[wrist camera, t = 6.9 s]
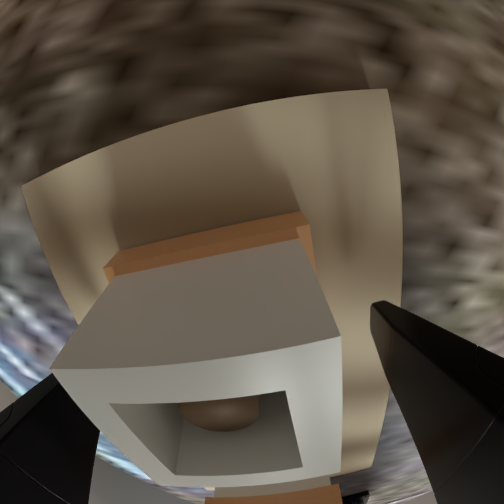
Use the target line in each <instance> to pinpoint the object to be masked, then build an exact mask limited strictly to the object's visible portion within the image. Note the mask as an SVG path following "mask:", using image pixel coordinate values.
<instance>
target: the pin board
mask: <svg viewBox="0 0 504 504" xmlns="http://www.w3.org/2000/svg"><path fill="white" fill-rule="evenodd" d="M21 188H22V192H23V195H24V198H25V202H26V205H27V208H28V211H29V214H30V217H31V220H32V223H33V226H34V229H35V231H36V234H37V237H38V239H39V242H40V245H41V247H42V250H43V252H44V255H45V257H46V259H47V262H48V264H49V266H50V269H51V271H52V273H53V275H54V278H55V280H56V282H57V284H58V286H59V288H60V291H61V293H62V295H63V297H64V299H65V301H66V303H67V305H68V307H69V309H70V311H71V312H72V314H73V316H74V318H75V320H76V322H77V324H78V325H79V324H80V323H81V321H82V320H83V318H84V317H85V316H86V314H87V313H88V311H89V310H90V309H91V307H92V306H93V305H94V303H95V302H96V301H97V299H98V298H99V297H100V295H101V294H102V293H103V291H104V290H105V289H106V287H107V286H108V285H109V282H108V280H107V278H106V275H105V273H104V271H103V267H104V266H105V265H106V264H107V263H108V262H109V261H110V260H111V259H112V258H113V256H114V255H115V254H116V253H117V252H118V251H121V250H125V249H129V248H133V247H138V246H142V245H146V244H150V243H154V242H159V241H163V240H167V239H171V238H176V237H180V236H184V235H189V234H193V233H198V232H202V231H207V230H211V229H216V228H220V227H225V226H230V225H234V224H239V223H244V222H248V221H253V220H258V219H263V218H268V217H272V216H277V215H282V214H287V213H292V212H297V211H302V213H303V214H304V216H305V218H306V219H307V221H308V222H309V224H310V230H311V237H312V244H313V251H314V258H315V265H316V273H317V279H318V282H319V284H320V286H321V289H322V291H323V293H324V296H325V298H326V301H327V303H328V305H329V308H330V310H331V313H332V315H333V317H334V320H335V322H336V325H337V327H338V330H339V332H340V335H341V347H342V390H343V407H342V448H341V468H340V472H338V473H334V474H329V476H330V477H334V476H339V475H343V474H347V473H351V472H355V471H358V470H362V469H366V468H369V467H371V466H372V463H373V460H374V456H375V453H376V449H377V445H378V441H379V437H380V433H381V429H382V425H383V421H384V416H385V412H386V407H387V402H388V397H389V391H390V385H389V383H388V381H387V378H386V376H385V373H384V370H383V367H382V364H381V361H380V358H379V355H378V352H377V349H376V346H375V343H374V340H373V337H372V335H371V331H370V306H371V304H372V303H373V302H377V301H381V300H386V301H388V302H390V303H392V304H394V305H396V306H398V307H400V305H401V289H402V261H403V229H402V201H401V186H400V173H399V163H398V153H397V145H396V137H395V130H394V123H393V117H392V111H391V105H390V100H389V94H388V89H367V90H352V91H339V92H329V93H320V94H311V95H304V96H296V97H290V98H283V99H277V100H271V101H266V102H260V103H255V104H250V105H245V106H240V107H236V108H231V109H227V110H222V111H218V112H214V113H210V114H206V115H202V116H198V117H195V118H191V119H187V120H184V121H180V122H177V123H173V124H170V125H167V126H164V127H160V128H157V129H154V130H151V131H148V132H145V133H142V134H139V135H136V136H133V137H131V138H128V139H125V140H122V141H120V142H117V143H114V144H112V145H109V146H107V147H104V148H102V149H99V150H97V151H94V152H92V153H89V154H87V155H85V156H82V157H80V158H78V159H75V160H73V161H71V162H69V163H67V164H64V165H62V166H60V167H58V168H56V169H54V170H52V171H50V172H48V173H46V174H44V175H42V176H40V177H38V178H36V179H34V180H32V181H30V182H28V183H26V184H24V185H23V186H21ZM179 410H180V413H181V414H182V416H183V417H184V418H185V419H186V420H187V421H189V422H190V423H192V424H194V425H196V426H198V427H200V428H203V429H206V430H211V431H219V432H229V431H236V430H240V429H243V428H246V427H248V426H250V425H251V424H253V423H254V422H255V421H256V420H257V418H258V416H259V395H252V396H245V397H237V398H228V399H219V400H208V401H196V402H180V403H179ZM204 488H205V489H206V490H215V487H204Z"/></svg>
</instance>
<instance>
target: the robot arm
mask: <svg viewBox="0 0 504 504" xmlns="http://www.w3.org/2000/svg"><path fill="white" fill-rule="evenodd" d="M370 331H371V335H372V337H373V340H374V343H375V346H376V349H377V352H378V355H379V358H380V361H381V364H382V367H383V370H384V373H385V376H386V378H387V381H388V383H389V385H390V387H391V389H392V392H393V394H394V396H395V398H396V400H397V403H398V405H399V407H400V409H401V412H402V414H403V416H404V419H405V421H406V423H407V426H408V428H409V430H410V433H411V435H412V437H413V440H414V442H415V445H416V447H417V450H418V452H419V455H420V457H421V460H422V462H423V465H424V467H425V470H426V473H427V475H428V478H429V481H430V483H431V486H432V489H433V491H434V493H435V498H436V501H437V503H438V504H504V358H503V357H501V356H499V355H496V354H494V353H492V352H490V351H488V350H486V349H484V348H482V347H480V346H478V347H477V345H476V344H474V343H472V342H470V341H468V340H466V339H464V338H462V337H460V336H458V335H456V334H454V333H452V332H450V331H448V330H445V329H443V328H441V327H439V326H437V325H435V324H433V323H431V322H429V321H427V320H425V319H423V318H421V317H419V316H417V315H415V314H413V313H411V312H409V311H407V310H404V309H402V308H400V307H398V306H396V305H394V304H392V303H390V302H388V301H386V300H381V301H377V302H373V303H372V304H371V306H370ZM99 434H100V430H99V429H98V428H97V427H96V426H95V425H94V424H93V422H92V421H91V420H90V419H89V418H88V417H87V416H86V415H85V413H84V412H83V411H82V410H81V409H80V408H79V406H78V405H77V404H76V403H75V402H74V400H73V399H72V398H71V397H70V395H69V394H68V393H67V392H66V390H65V389H64V388H63V386H62V385H61V384H60V382H59V381H58V380H57V378H56V377H55V376H54V374H53V373H52V374H50V375H49V376H48V377H46V378H45V379H44V380H42V381H41V382H40V383H38V384H37V385H36V386H34V387H33V388H32V389H30V390H29V391H28V392H26V393H25V394H24V395H22V396H21V397H20V398H19V399H17V400H16V401H15V403H14V402H13V403H12V404H11V405H9V406H8V407H7V408H6V409H4V410H3V411H2V412H0V504H88V501H89V493H90V485H91V478H92V473H93V466H94V460H95V455H96V449H97V444H98V439H99ZM369 496H370V494H369V492H366V493H362V494H359V495H355V496H351V497H347V498H343V499H342V503H343V504H366V503H367V501H368V499H369Z"/></svg>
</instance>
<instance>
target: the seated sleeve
mask: <svg viewBox="0 0 504 504" xmlns="http://www.w3.org/2000/svg"><path fill="white" fill-rule="evenodd" d="M205 504H343V503H342V497H341V492H340V487H339V483H338V484H334V485H331V482H330V476H329V475H324V476H319V477H314V478H309V479H303V480H297V481H290V482H283V483H275V484H266V485H255V486H240V487H215V494H214V497H205Z"/></svg>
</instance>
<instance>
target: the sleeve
mask: <svg viewBox="0 0 504 504" xmlns="http://www.w3.org/2000/svg"><path fill="white" fill-rule="evenodd" d="M103 271H104V273H105V275H106V278H107V280H108V282H109V285H108V286H107V287H106V289H105V290H104V291H103V293H102V294H101V295H100V297H99V298H98V299H97V301H96V302H95V303H94V305H93V306H92V307H91V309H90V310H89V311H88V313H87V314H86V316H85V317H84V318H83V320H82V321H81V323H80V324H79V325H78V327H77V328H76V330H75V331H74V333H73V334H72V336H71V337H70V338H69V340H68V341H67V343H66V344H65V346H64V347H63V349H62V350H61V352H60V353H59V355H58V356H57V358H56V359H55V361H54V363H53V364H52V366H51V367H50V370H51V372H52V373H53V374H54V376H55V377H56V378H57V380H58V381H59V382H60V384H61V385H62V386H63V388H64V389H65V390H66V392H67V393H68V394H69V395H70V397H71V398H72V399H73V400H74V402H75V403H76V404H77V405H78V406H79V408H80V409H81V410H82V411H83V412H84V413H85V415H86V416H87V417H88V418H89V419H90V420H91V421H92V422H93V424H94V425H95V426H96V427H97V428H98V429H99V430H100V431H101V432H102V433H103V434H104V435H105V436H106V437H107V438H108V439H109V441H110V442H111V443H112V444H113V445H114V446H115V447H117V448H118V449H119V450H120V451H121V452H122V453H123V454H124V455H125V456H126V457H127V458H128V459H129V460H130V461H131V462H132V463H134V464H135V465H136V466H137V467H138V468H139V469H140V470H141V471H143V472H144V473H145V474H146V475H147V476H148V477H150V478H151V479H152V480H153V481H154V482H156V483H157V484H158V485H163V486H177V487H240V486H255V485H266V484H275V483H283V482H290V481H297V480H303V479H309V478H314V477H319V476H324V475H329V474H334V473H338V472H340V468H341V448H342V407H343V390H342V347H341V335H340V332H339V330H338V327H337V325H336V322H335V320H334V317H333V315H332V313H331V310H330V308H329V305H328V303H327V301H326V298H325V296H324V293H323V291H322V289H321V286H320V284H319V282H318V279H317V273H316V265H315V258H314V251H313V244H312V237H311V230H310V224H309V222H308V221H307V219H306V218H305V216H304V214H303V213H302V211H297V212H292V213H287V214H282V215H277V216H272V217H268V218H263V219H258V220H253V221H248V222H244V223H239V224H234V225H230V226H225V227H220V228H216V229H211V230H207V231H202V232H198V233H193V234H189V235H184V236H180V237H176V238H171V239H167V240H163V241H159V242H154V243H150V244H146V245H142V246H138V247H133V248H129V249H125V250H121V251H118V252H117V253H116V254H115V255H114V256H113V258H112V259H111V260H110V261H109V262H108V263H107V264H106V265H105V266H104V267H103ZM252 395H259V416H258V418H257V420H256V421H255V422H254V423H253V424H251V425H250V426H248V427H246V428H243V429H240V430H236V431H229V432H219V431H211V430H206V429H203V428H200V427H198V426H196V425H194V424H192V423H190V422H189V421H187V420H186V419H185V418H184V417H183V416H182V414H181V413H180V410H179V403H180V402H196V401H208V400H219V399H228V398H237V397H245V396H252Z"/></svg>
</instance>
